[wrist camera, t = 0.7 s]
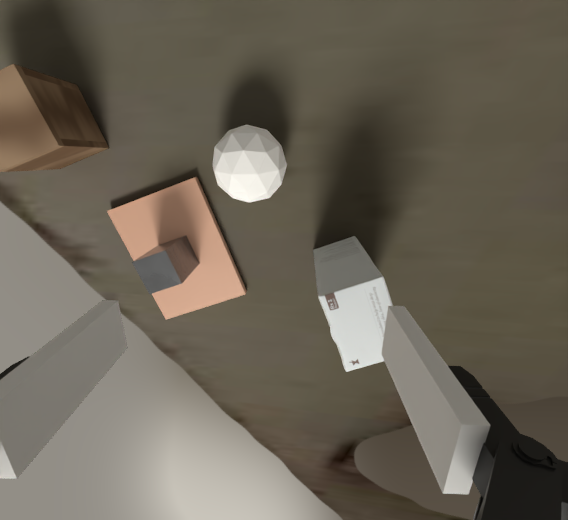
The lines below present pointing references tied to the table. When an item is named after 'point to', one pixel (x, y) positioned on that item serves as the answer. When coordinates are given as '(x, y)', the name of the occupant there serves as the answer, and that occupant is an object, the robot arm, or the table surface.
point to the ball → (249, 163)
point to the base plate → (174, 224)
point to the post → (166, 264)
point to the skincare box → (352, 301)
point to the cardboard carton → (43, 122)
